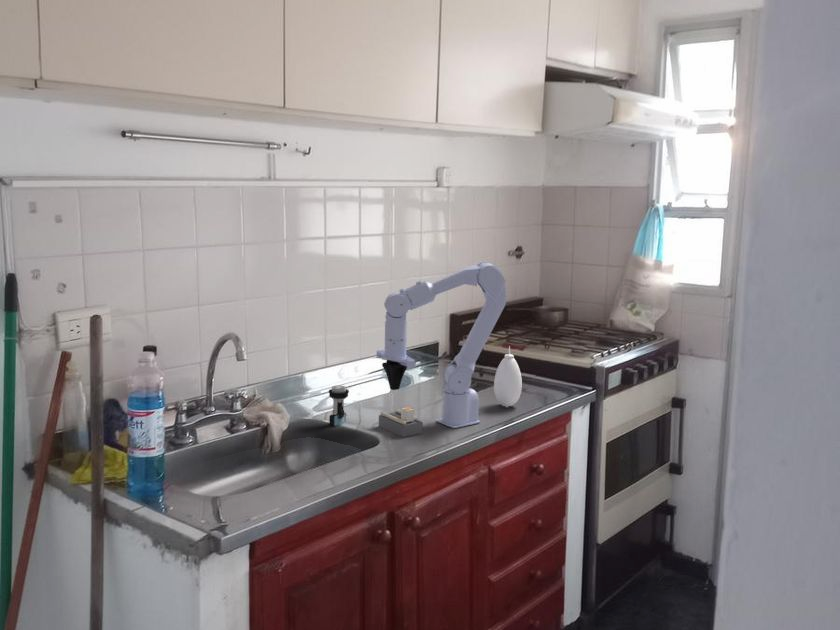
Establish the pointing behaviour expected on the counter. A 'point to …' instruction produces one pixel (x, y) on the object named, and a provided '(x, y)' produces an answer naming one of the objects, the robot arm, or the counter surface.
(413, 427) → the grey shallow tray
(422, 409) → the counter surface
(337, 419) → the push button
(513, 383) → the air blower bulb
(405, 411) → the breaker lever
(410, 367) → the robot arm
